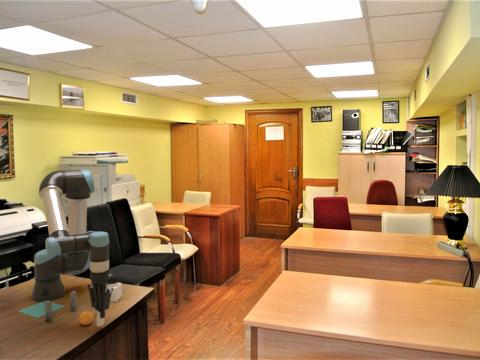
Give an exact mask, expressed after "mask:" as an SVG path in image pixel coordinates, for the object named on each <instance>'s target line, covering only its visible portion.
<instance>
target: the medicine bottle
mask: <svg viewBox="0 0 480 360" xmlns="http://www.w3.org/2000/svg"><path fill="white" fill-rule="evenodd" d="M108 284H109V287H110V288H113V291H112V293H111V299H110V302H111V303H116V302H118V301H119V299H121V298H122V297H123V289H122V288H123V283H122V282H119V275H117V274H116V273H115V274H109V279H108Z"/></svg>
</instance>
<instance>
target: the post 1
mask: <svg viewBox="0 0 480 360" xmlns="http://www.w3.org/2000/svg"><path fill="white" fill-rule="evenodd" d="M52 301H53V300H47V301H45V315H44V317H45V323H48V324H49V323H52V322H53V312H52V303H53V302H52Z"/></svg>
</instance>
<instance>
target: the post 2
mask: <svg viewBox="0 0 480 360" xmlns="http://www.w3.org/2000/svg"><path fill="white" fill-rule="evenodd" d="M69 299H70V301H69V302H70V303H69V304H70V306H69V308H70V312H71V313H75V312H77V311H78V310H77V291H76V290H71V291H70V292H69Z"/></svg>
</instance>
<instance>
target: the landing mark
mask: <svg viewBox="0 0 480 360" xmlns="http://www.w3.org/2000/svg"><path fill="white" fill-rule="evenodd" d="M63 308H65V305H62V304H59V303H54V302H52V313H53V312H55V311H58V310H61V309H63ZM17 312H19V313H21V314H24V315H27V316H29V317H32V318H35V319H39V318H42V317H43V316H44V317H45V301H39V302H38V303H36V304H33V305H30V306H28V307H24V308H22V309H19V310H18V311H17Z"/></svg>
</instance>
